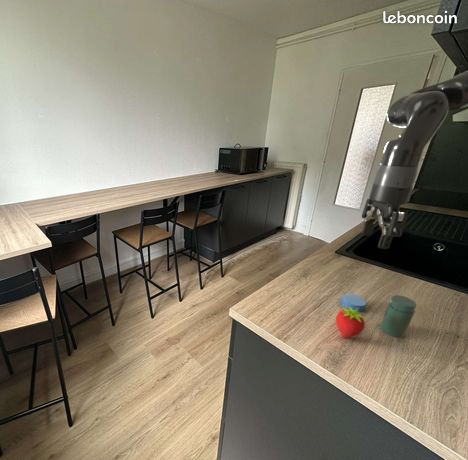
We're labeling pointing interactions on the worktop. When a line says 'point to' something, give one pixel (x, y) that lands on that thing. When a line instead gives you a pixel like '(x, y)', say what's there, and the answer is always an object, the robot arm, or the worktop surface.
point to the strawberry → (349, 322)
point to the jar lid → (353, 302)
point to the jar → (398, 316)
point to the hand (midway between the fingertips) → (374, 241)
